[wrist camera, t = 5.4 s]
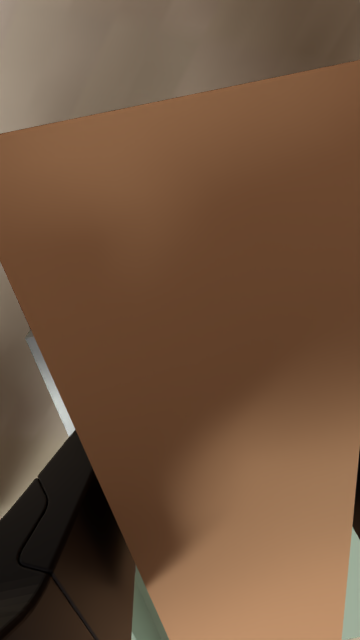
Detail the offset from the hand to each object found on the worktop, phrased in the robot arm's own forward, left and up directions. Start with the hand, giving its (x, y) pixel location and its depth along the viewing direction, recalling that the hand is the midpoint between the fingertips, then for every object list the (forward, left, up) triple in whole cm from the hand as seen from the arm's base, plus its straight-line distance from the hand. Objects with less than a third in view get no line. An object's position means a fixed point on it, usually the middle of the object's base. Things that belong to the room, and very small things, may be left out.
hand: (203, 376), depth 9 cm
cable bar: (0, 0, -1) cm, 1 cm away
